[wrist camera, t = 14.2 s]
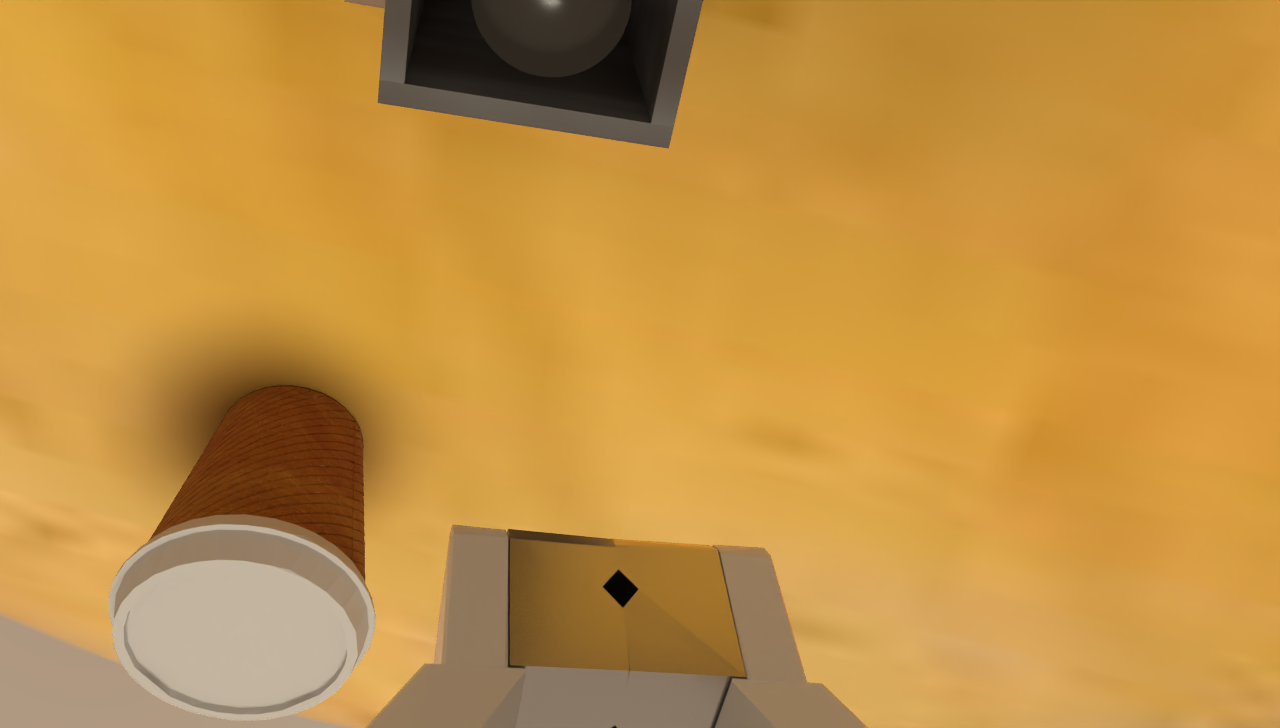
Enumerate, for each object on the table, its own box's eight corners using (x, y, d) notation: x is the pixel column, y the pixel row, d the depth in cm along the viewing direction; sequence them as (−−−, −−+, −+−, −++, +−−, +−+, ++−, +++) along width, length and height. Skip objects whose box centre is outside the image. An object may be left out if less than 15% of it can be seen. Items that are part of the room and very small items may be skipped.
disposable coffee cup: (441, 429, 50) (423, 628, 40) (320, 548, 53) (276, 759, 43) (260, 315, 45) (189, 506, 35) (141, 453, 49) (46, 662, 39)
